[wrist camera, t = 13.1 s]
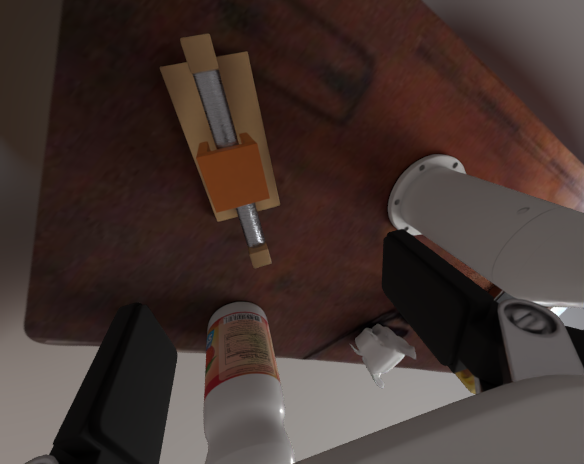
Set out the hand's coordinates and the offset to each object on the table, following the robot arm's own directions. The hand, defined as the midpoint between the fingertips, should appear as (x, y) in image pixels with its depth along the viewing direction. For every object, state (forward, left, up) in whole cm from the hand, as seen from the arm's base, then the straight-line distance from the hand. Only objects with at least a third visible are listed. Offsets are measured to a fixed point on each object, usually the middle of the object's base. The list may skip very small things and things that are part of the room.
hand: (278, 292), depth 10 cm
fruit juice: (+3, +26, -23) cm, 34 cm away
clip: (+1, -2, -15) cm, 15 cm away
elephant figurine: (-23, +37, -23) cm, 49 cm away
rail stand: (+1, -2, -22) cm, 22 cm away
